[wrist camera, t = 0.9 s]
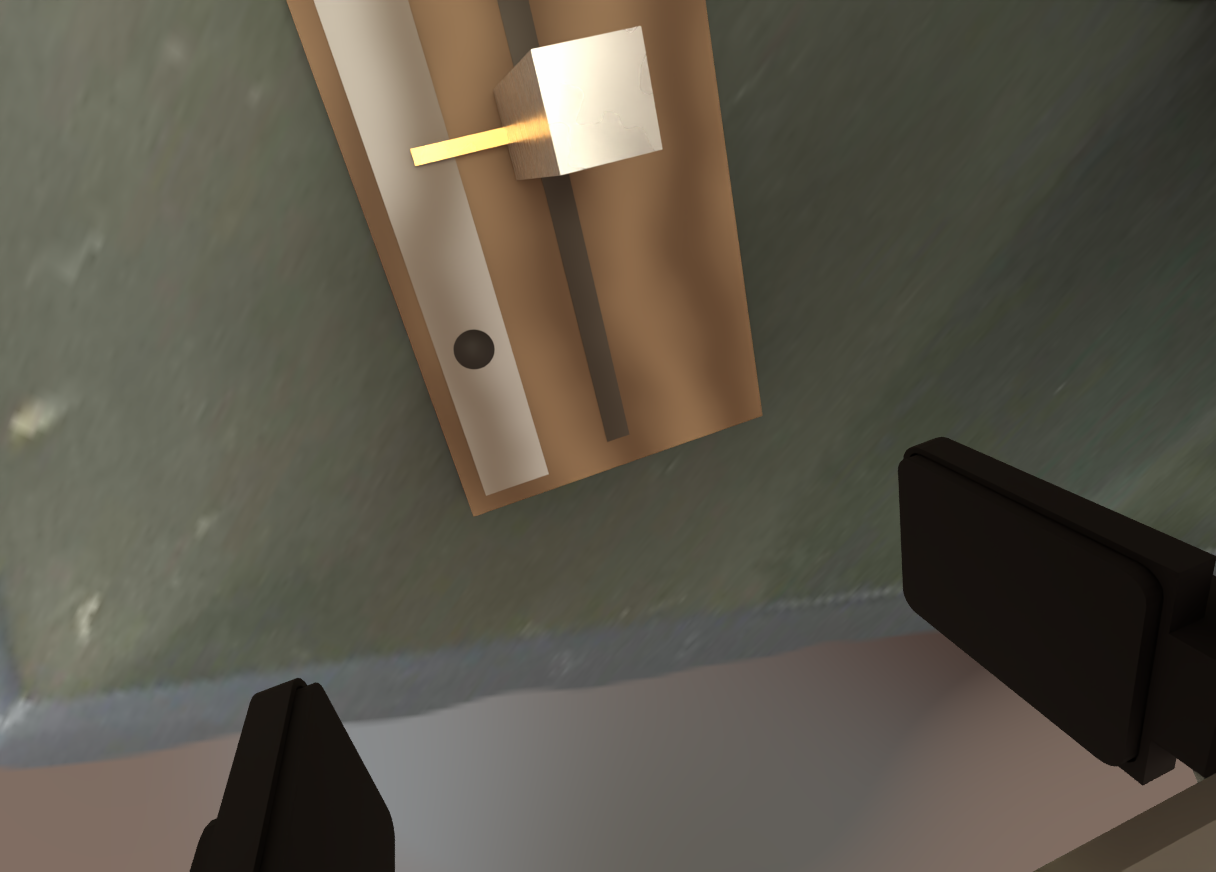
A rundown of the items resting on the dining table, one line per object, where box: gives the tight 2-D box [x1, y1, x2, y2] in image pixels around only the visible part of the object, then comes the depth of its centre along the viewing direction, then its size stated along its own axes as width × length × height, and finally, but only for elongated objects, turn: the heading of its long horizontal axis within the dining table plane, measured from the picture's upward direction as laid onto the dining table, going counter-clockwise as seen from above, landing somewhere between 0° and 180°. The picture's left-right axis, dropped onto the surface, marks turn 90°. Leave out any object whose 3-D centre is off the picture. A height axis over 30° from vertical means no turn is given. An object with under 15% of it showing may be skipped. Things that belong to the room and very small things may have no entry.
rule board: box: [286, 0, 762, 516], centre depth 25 cm, size 16×26×10 cm, turn 14°
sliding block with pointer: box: [410, 26, 662, 180], centre depth 23 cm, size 7×3×8 cm, turn 104°
